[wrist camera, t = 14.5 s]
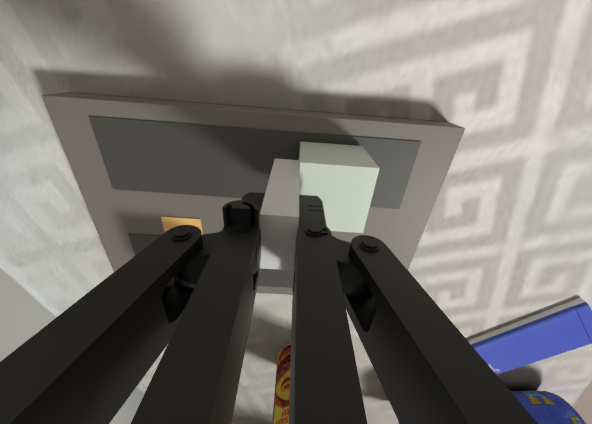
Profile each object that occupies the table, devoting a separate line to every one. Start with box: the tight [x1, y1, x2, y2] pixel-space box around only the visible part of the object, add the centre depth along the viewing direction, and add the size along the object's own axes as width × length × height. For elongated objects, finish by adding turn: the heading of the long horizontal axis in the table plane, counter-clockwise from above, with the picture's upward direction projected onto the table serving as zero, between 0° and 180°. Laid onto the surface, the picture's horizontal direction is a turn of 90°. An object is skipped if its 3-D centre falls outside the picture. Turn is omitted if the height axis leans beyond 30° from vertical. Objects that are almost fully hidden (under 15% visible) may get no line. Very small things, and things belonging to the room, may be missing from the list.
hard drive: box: [468, 298, 592, 375], centre depth 29 cm, size 2×8×12 cm
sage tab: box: [299, 141, 380, 233], centre depth 15 cm, size 4×4×4 cm
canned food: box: [272, 343, 291, 424], centre depth 27 cm, size 8×8×12 cm
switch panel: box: [42, 92, 465, 295], centre depth 20 cm, size 16×26×2 cm, turn 86°
